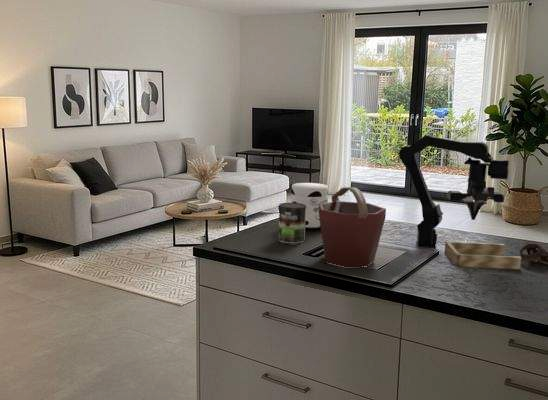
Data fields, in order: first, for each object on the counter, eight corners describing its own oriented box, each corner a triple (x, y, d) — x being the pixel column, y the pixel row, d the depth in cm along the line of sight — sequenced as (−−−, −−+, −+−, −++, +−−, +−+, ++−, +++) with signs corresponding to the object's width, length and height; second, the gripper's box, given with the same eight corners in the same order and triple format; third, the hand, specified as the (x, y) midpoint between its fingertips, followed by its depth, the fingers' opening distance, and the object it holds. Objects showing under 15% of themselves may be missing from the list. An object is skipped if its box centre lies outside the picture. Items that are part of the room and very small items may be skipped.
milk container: (330, 232, 226) (332, 189, 222) (288, 231, 226) (289, 188, 222) (327, 223, 243) (328, 182, 239) (287, 222, 243) (289, 181, 239)
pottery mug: (556, 270, 184) (549, 250, 181) (527, 279, 187) (520, 260, 184) (543, 251, 195) (536, 233, 192) (516, 260, 197) (509, 242, 195)
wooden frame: (456, 266, 184) (457, 254, 183) (444, 251, 201) (445, 241, 200) (519, 269, 182) (521, 257, 181) (502, 254, 199) (503, 243, 198)
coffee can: (299, 245, 204) (301, 208, 202) (274, 242, 208) (275, 206, 206) (308, 239, 214) (309, 203, 211) (283, 236, 218) (284, 201, 215)
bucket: (315, 250, 199) (318, 182, 195) (377, 252, 199) (381, 183, 194) (319, 271, 175) (322, 194, 171) (388, 273, 175) (393, 196, 170)
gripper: (455, 179, 190) (452, 223, 193) (511, 181, 188) (506, 225, 191) (448, 175, 201) (445, 216, 204) (500, 177, 199) (496, 218, 202)
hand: (473, 219), depth 200 cm, fingers closed
